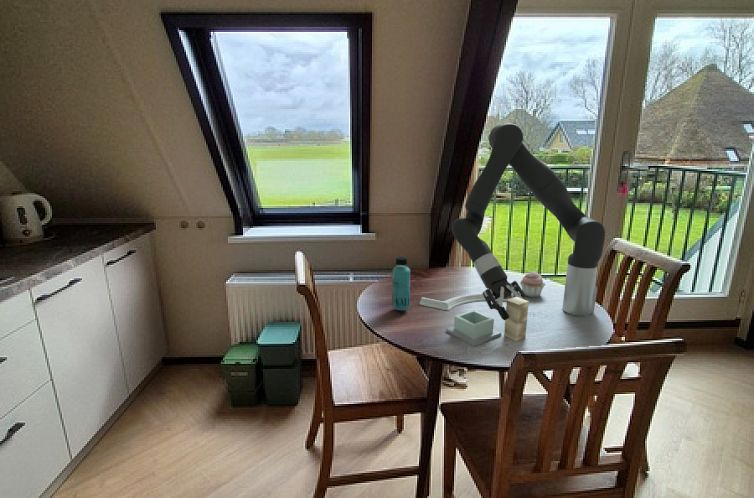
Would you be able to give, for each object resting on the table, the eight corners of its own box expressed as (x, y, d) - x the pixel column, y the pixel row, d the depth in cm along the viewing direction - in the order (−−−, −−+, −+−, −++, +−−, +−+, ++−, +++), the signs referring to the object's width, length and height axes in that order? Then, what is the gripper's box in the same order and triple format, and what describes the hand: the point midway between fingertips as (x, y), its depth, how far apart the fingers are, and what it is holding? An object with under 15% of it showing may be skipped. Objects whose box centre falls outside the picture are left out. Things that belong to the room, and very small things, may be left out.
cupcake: (534, 289, 166) (536, 265, 163) (549, 297, 157) (551, 273, 155) (513, 291, 164) (515, 267, 161) (527, 300, 155) (530, 275, 152)
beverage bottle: (398, 305, 152) (398, 253, 147) (413, 309, 149) (414, 256, 143) (388, 311, 147) (388, 258, 142) (404, 316, 143) (404, 261, 138)
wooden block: (513, 331, 131) (516, 296, 128) (525, 337, 128) (528, 301, 124) (504, 335, 129) (506, 299, 126) (515, 341, 125) (519, 304, 122)
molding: (514, 290, 167) (515, 284, 166) (532, 301, 155) (533, 294, 155) (416, 302, 157) (416, 295, 156) (427, 315, 145) (427, 307, 145)
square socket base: (472, 321, 138) (473, 306, 137) (501, 335, 129) (502, 319, 127) (446, 331, 132) (446, 315, 131) (473, 346, 122) (474, 329, 121)
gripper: (481, 269, 126) (508, 316, 120) (512, 261, 133) (539, 305, 127) (467, 280, 132) (493, 326, 125) (498, 272, 139) (523, 315, 133)
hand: (516, 315), depth 126 cm, fingers open, 8 cm apart
